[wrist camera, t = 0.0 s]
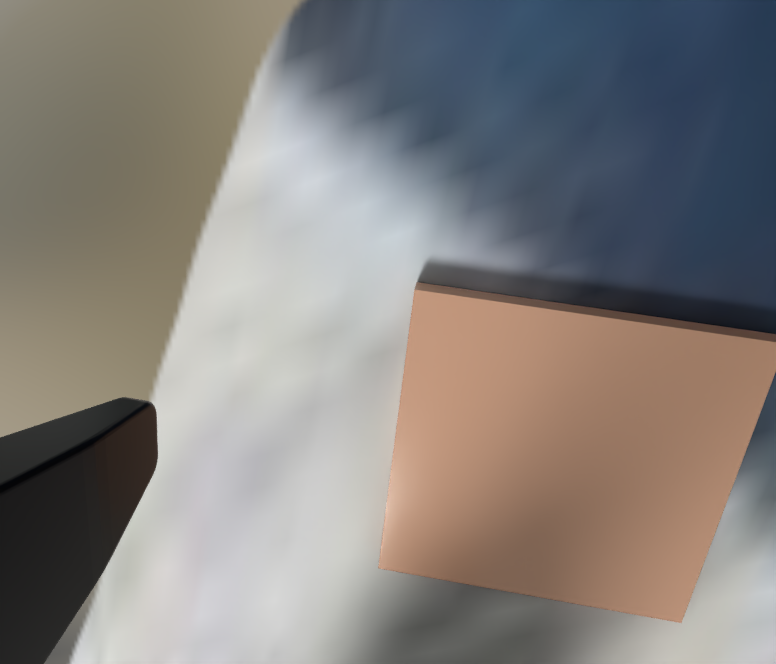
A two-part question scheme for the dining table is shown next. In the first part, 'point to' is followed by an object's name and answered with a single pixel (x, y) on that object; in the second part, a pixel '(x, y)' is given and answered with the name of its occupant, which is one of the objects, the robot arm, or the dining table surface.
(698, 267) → the dining table surface
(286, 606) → the dining table surface
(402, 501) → the terracotta tile
